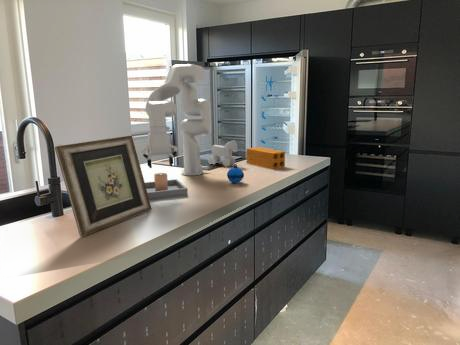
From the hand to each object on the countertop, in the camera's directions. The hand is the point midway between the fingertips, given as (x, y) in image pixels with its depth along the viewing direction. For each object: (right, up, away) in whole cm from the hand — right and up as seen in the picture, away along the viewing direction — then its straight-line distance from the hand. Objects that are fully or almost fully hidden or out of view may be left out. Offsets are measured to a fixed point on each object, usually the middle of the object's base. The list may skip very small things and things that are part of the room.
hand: (160, 166), depth 174 cm
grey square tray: (0, -12, +2) cm, 13 cm away
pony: (+28, +2, +65) cm, 71 cm away
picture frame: (-12, -21, -35) cm, 42 cm away
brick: (+55, +1, +63) cm, 84 cm away
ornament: (+35, -8, +19) cm, 41 cm away
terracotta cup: (0, -11, +2) cm, 12 cm away
